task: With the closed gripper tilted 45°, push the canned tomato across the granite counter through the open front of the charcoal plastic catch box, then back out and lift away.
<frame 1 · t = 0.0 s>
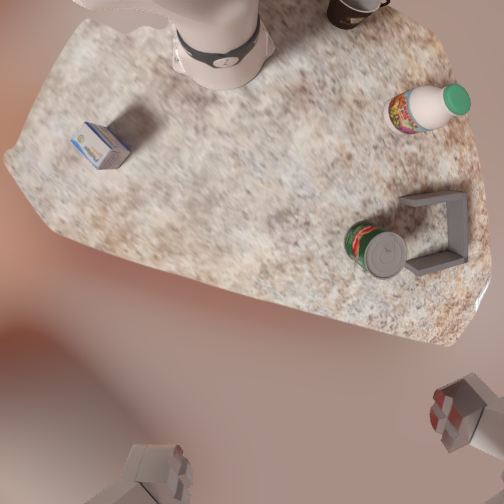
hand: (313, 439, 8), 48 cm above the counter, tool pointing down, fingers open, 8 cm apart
canned tomato: (362, 241, 56), on the counter
medicine box: (111, 148, 51), on the counter
coffee mug: (349, 19, 45), on the counter
catch box: (426, 228, 55), on the counter
milk bottle: (398, 116, 50), on the counter
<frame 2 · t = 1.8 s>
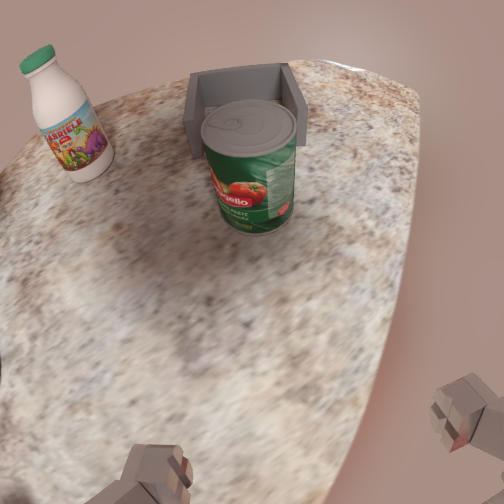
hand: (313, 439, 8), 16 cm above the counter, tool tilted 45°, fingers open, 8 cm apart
canned tomato: (256, 206, 33), on the counter
catch box: (245, 123, 40), on the counter
milk bottle: (93, 166, 39), on the counter
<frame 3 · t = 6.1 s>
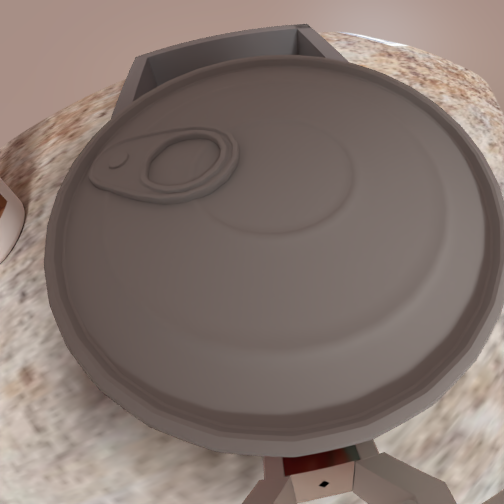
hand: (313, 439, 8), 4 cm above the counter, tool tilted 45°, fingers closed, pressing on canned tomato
canned tomato: (286, 339, 14), on the counter, touching gripper
catch box: (242, 136, 21), on the counter
milk bottle: (1, 237, 20), on the counter
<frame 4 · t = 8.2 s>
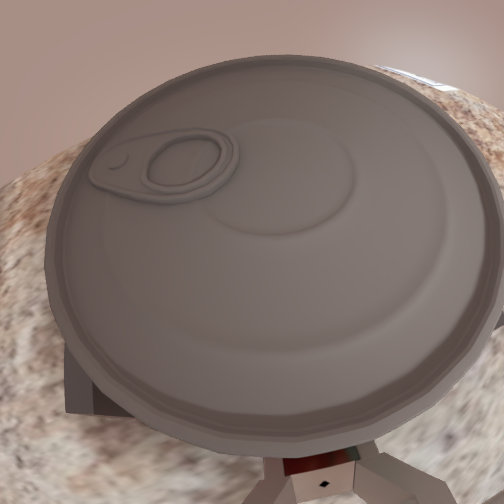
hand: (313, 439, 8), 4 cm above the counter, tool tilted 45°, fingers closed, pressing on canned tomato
canned tomato: (286, 339, 14), on the counter, touching gripper
catch box: (270, 283, 15), on the counter
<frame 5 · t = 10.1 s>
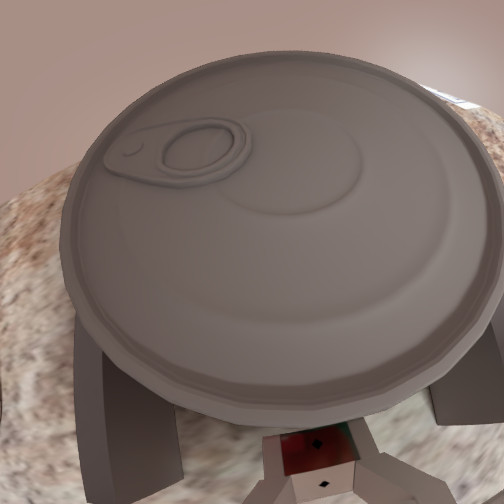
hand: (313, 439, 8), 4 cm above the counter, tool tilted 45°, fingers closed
canned tomato: (292, 333, 14), on the counter
catch box: (292, 342, 14), on the counter
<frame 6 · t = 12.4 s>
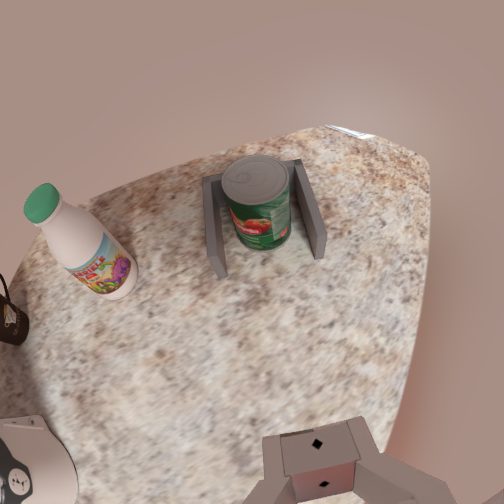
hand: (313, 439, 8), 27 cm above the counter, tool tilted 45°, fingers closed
canned tomato: (264, 229, 44), on the counter
coffee mug: (22, 321, 42), on the counter
catch box: (263, 231, 44), on the counter
milk bottle: (118, 278, 44), on the counter
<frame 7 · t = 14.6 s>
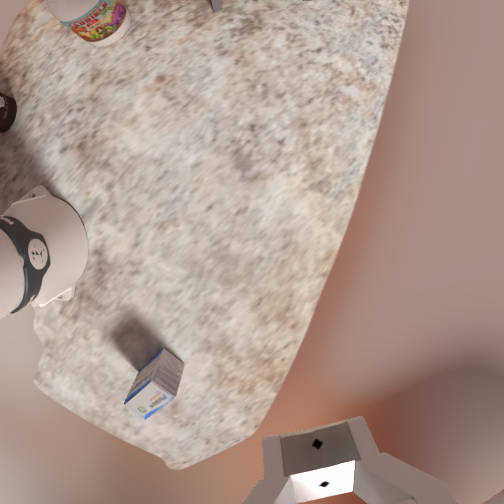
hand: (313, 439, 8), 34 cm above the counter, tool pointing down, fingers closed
medicine box: (161, 367, 46), on the counter
coffee mug: (7, 106, 34), on the counter
milk bottle: (110, 27, 33), on the counter
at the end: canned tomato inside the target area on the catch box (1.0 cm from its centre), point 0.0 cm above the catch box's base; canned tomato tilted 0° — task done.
